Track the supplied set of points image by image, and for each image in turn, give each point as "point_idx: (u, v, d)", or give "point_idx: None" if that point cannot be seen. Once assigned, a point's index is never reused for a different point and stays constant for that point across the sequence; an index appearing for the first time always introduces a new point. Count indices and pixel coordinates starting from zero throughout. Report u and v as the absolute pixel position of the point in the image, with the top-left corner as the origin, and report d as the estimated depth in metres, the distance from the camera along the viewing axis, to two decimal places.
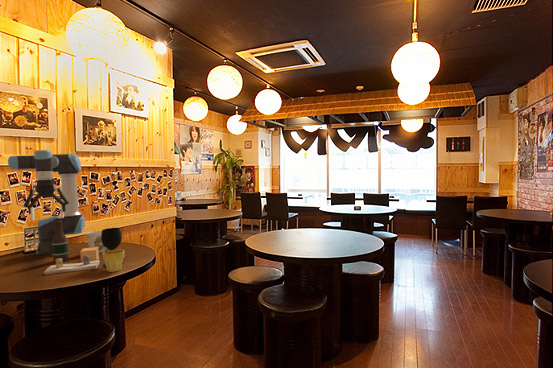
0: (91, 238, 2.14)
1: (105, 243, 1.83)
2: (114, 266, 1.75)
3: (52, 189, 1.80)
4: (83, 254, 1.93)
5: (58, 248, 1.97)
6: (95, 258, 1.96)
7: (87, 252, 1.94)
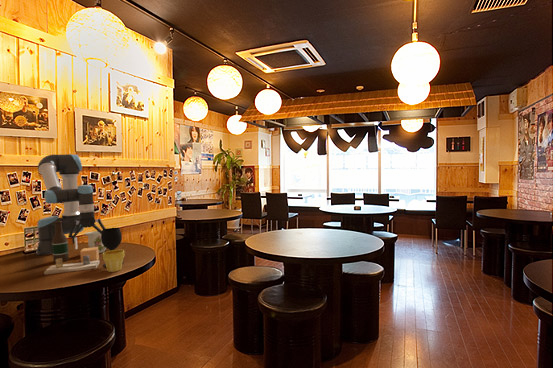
0: (91, 238, 2.14)
1: (105, 243, 1.83)
2: (114, 266, 1.75)
3: (93, 220, 1.97)
4: (83, 254, 1.93)
5: (58, 248, 1.97)
6: (95, 258, 1.96)
7: (87, 252, 1.94)
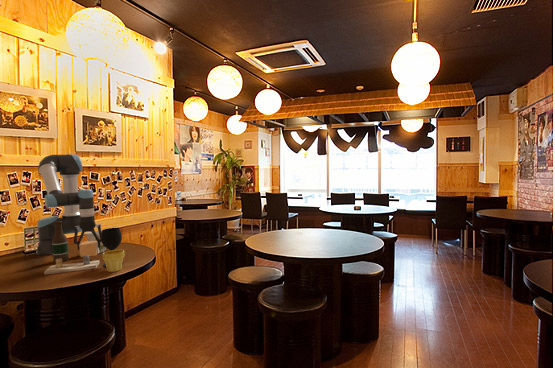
0: (91, 238, 2.14)
1: (105, 243, 1.83)
2: (114, 266, 1.75)
3: (94, 225, 1.97)
4: (82, 248, 1.94)
5: (58, 248, 1.97)
6: (94, 252, 1.96)
7: (86, 246, 1.94)
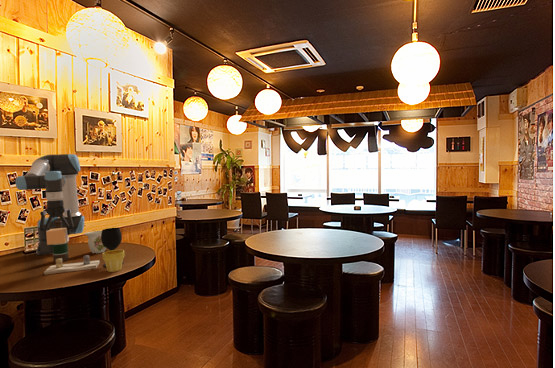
0: (91, 238, 2.14)
1: (105, 243, 1.83)
2: (114, 266, 1.75)
3: (62, 210, 1.80)
4: (49, 234, 1.77)
5: (58, 248, 1.97)
6: (63, 239, 1.79)
7: (54, 232, 1.77)
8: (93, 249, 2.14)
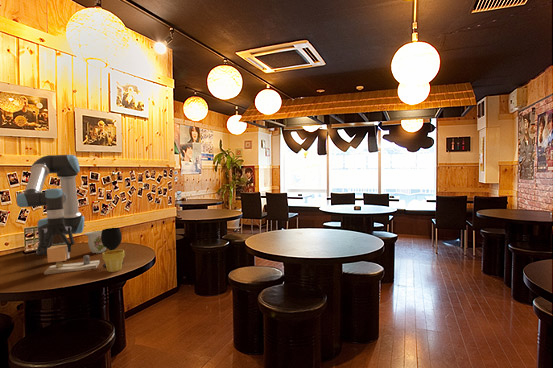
0: (91, 238, 2.14)
1: (105, 243, 1.83)
2: (114, 266, 1.75)
3: (63, 227, 1.81)
4: (50, 252, 1.77)
5: None
6: (64, 257, 1.79)
7: (55, 250, 1.77)
8: (93, 249, 2.14)
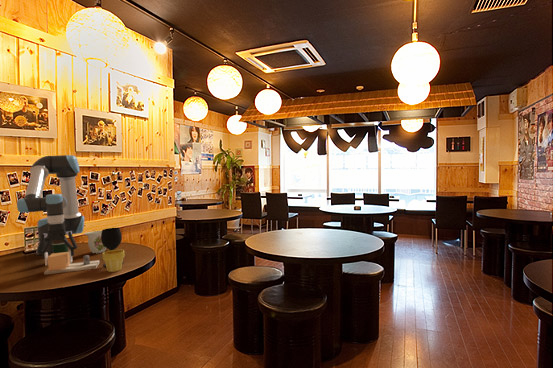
0: (91, 238, 2.14)
1: (105, 243, 1.83)
2: (114, 266, 1.75)
3: (63, 232, 1.81)
4: (51, 260, 1.77)
5: (58, 248, 1.97)
6: (64, 264, 1.79)
7: (55, 258, 1.78)
8: (93, 249, 2.14)
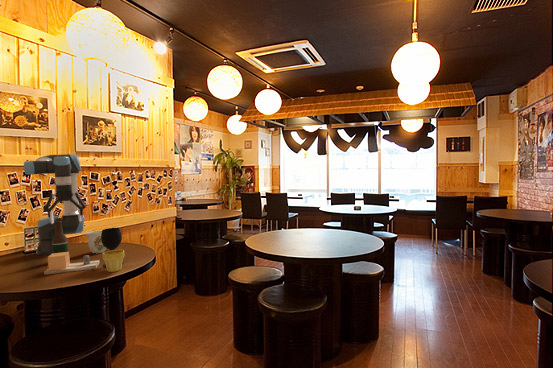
0: (91, 238, 2.14)
1: (105, 243, 1.83)
2: (114, 266, 1.75)
3: (70, 194, 1.87)
4: (51, 260, 1.77)
5: (58, 248, 1.97)
6: (64, 264, 1.79)
7: (55, 258, 1.78)
8: (93, 249, 2.14)
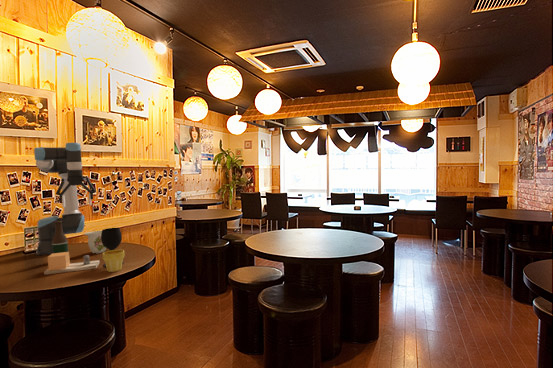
0: (91, 238, 2.14)
1: (105, 243, 1.83)
2: (114, 266, 1.75)
3: (81, 178, 1.96)
4: (51, 260, 1.77)
5: (58, 248, 1.97)
6: (64, 264, 1.79)
7: (55, 258, 1.78)
8: (93, 249, 2.14)
